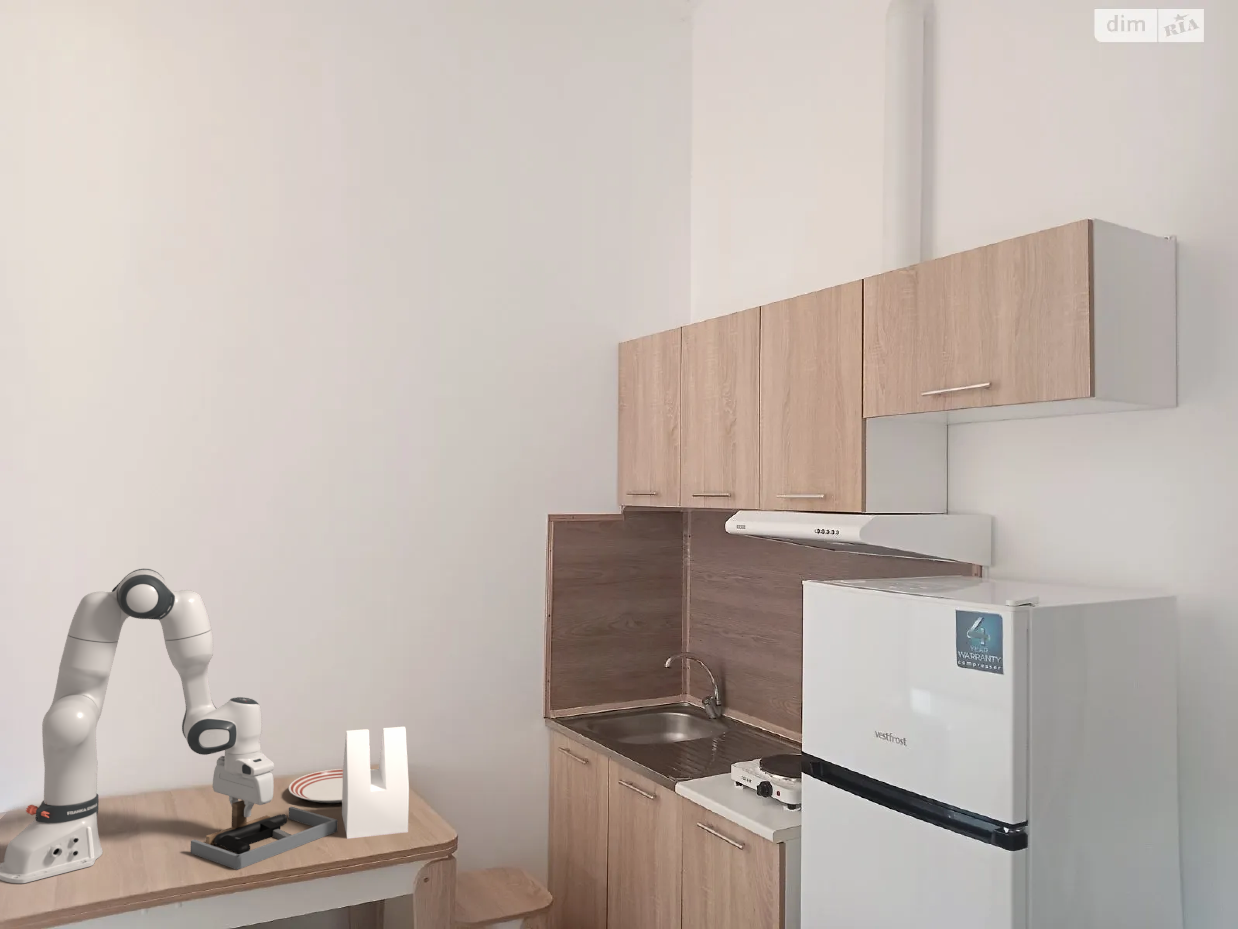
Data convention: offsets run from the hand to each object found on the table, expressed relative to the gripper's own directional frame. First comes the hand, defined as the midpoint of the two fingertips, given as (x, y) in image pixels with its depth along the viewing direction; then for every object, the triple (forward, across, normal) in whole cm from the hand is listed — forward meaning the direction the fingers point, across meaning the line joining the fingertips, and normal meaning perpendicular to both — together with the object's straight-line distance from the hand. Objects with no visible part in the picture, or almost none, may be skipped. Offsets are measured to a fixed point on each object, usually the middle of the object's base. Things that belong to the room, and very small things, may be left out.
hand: (241, 815), depth 245 cm
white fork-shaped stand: (+5, +22, +25) cm, 34 cm away
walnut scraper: (+5, 0, -1) cm, 5 cm away
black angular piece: (+6, +8, +1) cm, 10 cm away
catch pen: (+5, +10, 0) cm, 11 cm away
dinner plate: (+5, -5, +36) cm, 37 cm away
